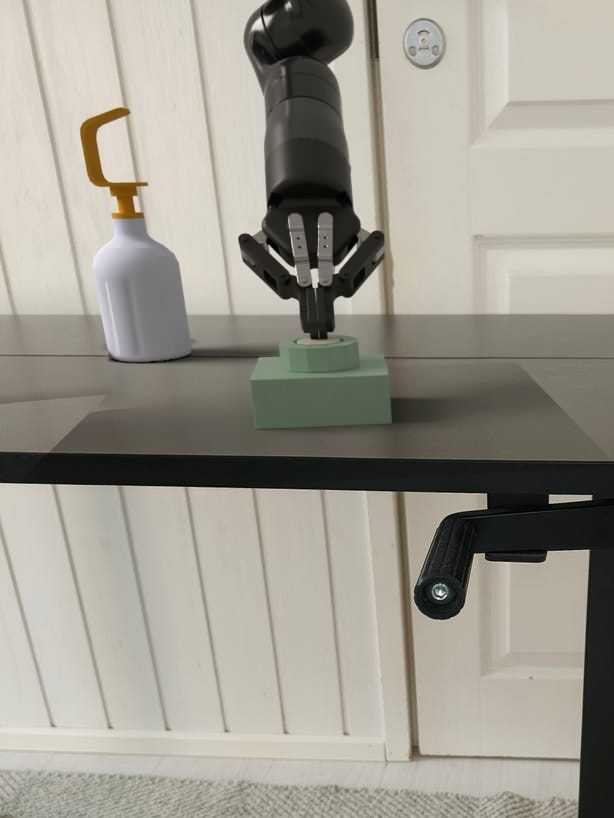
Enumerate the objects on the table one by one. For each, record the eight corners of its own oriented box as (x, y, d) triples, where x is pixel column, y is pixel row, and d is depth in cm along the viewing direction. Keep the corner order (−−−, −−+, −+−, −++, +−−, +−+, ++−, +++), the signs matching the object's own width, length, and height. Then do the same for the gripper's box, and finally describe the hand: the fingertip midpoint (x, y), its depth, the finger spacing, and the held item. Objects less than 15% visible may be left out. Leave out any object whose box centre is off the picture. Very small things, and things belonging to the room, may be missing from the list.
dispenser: (255, 430, 74) (246, 353, 71) (264, 402, 83) (255, 333, 80) (391, 424, 75) (387, 348, 72) (385, 397, 84) (381, 329, 81)
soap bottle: (183, 362, 101) (143, 105, 90) (99, 364, 100) (48, 105, 89) (199, 348, 109) (165, 110, 98) (122, 350, 108) (78, 111, 97)
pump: (298, 370, 75) (296, 344, 74) (299, 362, 78) (297, 337, 78) (342, 368, 76) (340, 343, 75) (342, 360, 79) (340, 336, 78)
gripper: (224, 135, 77) (230, 306, 72) (381, 133, 79) (398, 300, 73) (238, 203, 84) (244, 363, 79) (382, 200, 86) (398, 357, 80)
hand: (318, 333), depth 76 cm, fingers closed
